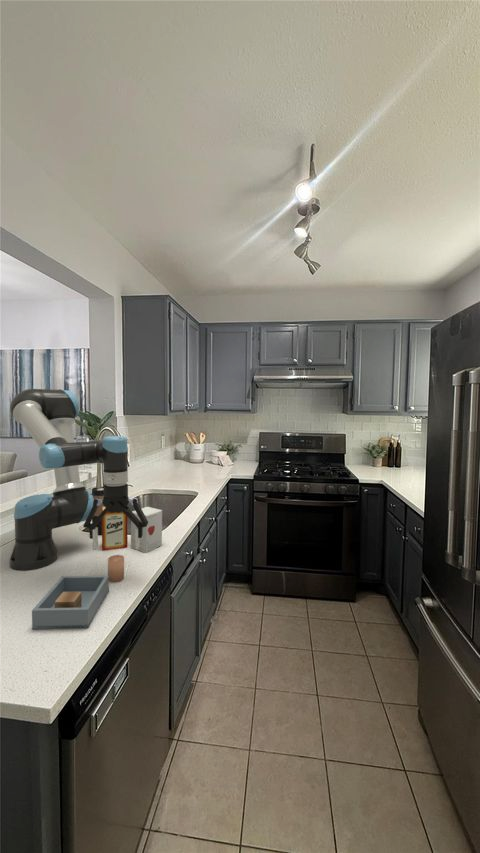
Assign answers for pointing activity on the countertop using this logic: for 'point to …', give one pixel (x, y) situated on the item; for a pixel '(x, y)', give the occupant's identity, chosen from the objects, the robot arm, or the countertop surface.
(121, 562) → the terracotta cylinder
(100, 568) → the countertop surface
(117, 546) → the baking soda box
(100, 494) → the travel mug
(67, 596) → the walnut cube
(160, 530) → the supplement box
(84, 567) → the countertop surface
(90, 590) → the slate tote
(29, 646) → the countertop surface
